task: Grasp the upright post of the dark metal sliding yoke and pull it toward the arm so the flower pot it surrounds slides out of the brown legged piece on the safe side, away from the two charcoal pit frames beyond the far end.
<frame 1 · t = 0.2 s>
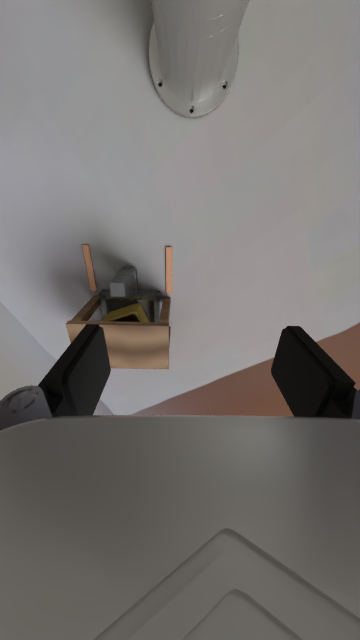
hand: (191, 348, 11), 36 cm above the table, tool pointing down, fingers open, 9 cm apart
yoke: (128, 315, 45), point 5 cm above the table, slide at 0.0 cm
brown legged piece: (133, 314, 51), on the table
flower pot: (134, 314, 51), resting in yoke
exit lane: (129, 269, 46), on the table
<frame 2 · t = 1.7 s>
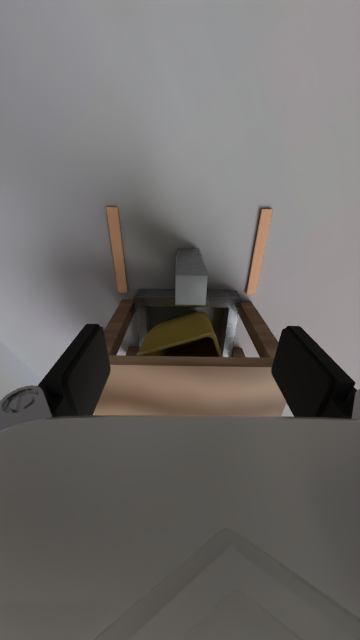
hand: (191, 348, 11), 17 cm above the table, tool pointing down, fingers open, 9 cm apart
yoke: (187, 336, 25), point 5 cm above the table, slide at 0.0 cm
brown legged piece: (185, 330, 31), on the table
flower pot: (185, 329, 32), resting in yoke
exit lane: (188, 254, 26), on the table
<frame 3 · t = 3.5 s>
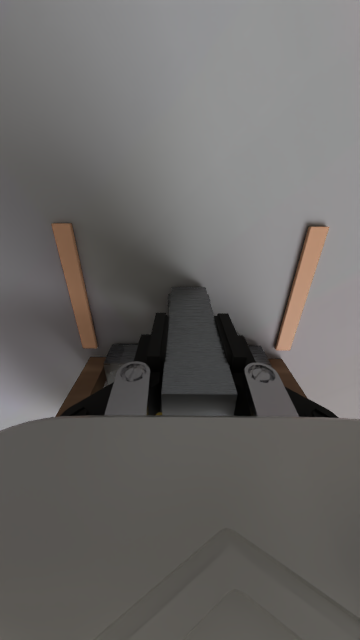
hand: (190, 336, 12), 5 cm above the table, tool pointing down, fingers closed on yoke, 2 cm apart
yoke: (187, 427, 16), point 5 cm above the table, slide at 0.0 cm, touching gripper
brown legged piece: (185, 394, 22), on the table
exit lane: (188, 295, 17), on the table
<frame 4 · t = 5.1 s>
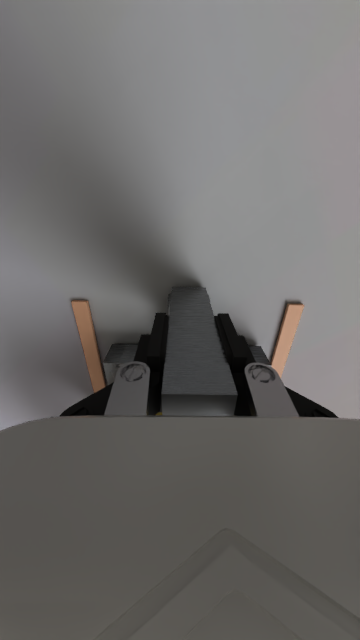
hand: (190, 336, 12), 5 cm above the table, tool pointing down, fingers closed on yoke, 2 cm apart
yoke: (186, 427, 16), point 5 cm above the table, slide at 5.6 cm, touching flower pot, gripper
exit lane: (186, 352, 19), on the table
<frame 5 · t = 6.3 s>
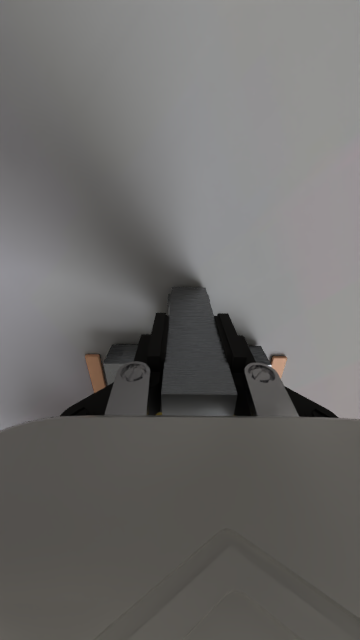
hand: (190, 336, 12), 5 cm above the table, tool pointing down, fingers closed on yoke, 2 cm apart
yoke: (187, 427, 16), point 5 cm above the table, slide at 10.9 cm, touching flower pot, gripper
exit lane: (184, 394, 22), on the table
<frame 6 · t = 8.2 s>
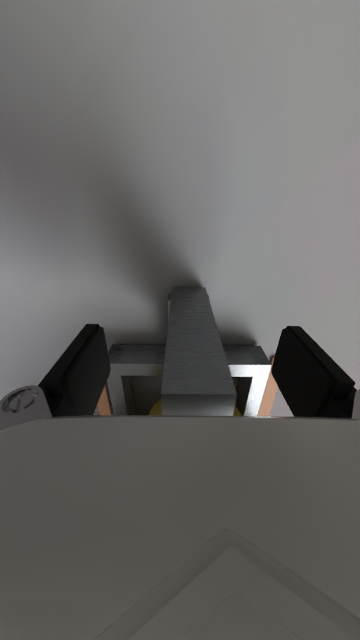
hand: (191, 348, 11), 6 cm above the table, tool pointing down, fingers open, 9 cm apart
yoke: (187, 427, 16), point 5 cm above the table, slide at 11.0 cm, touching flower pot
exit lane: (184, 395, 22), on the table
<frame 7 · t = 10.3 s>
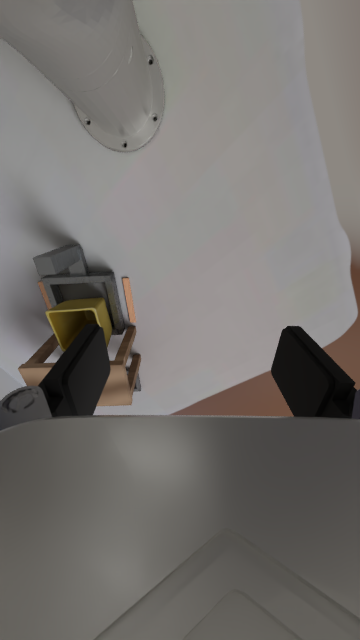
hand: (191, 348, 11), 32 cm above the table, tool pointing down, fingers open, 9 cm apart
yoke: (75, 301, 39), point 5 cm above the table, slide at 11.0 cm, touching flower pot
brown legged piece: (101, 345, 50), on the table
flower pot: (95, 308, 46), resting in yoke
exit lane: (89, 302, 45), on the table
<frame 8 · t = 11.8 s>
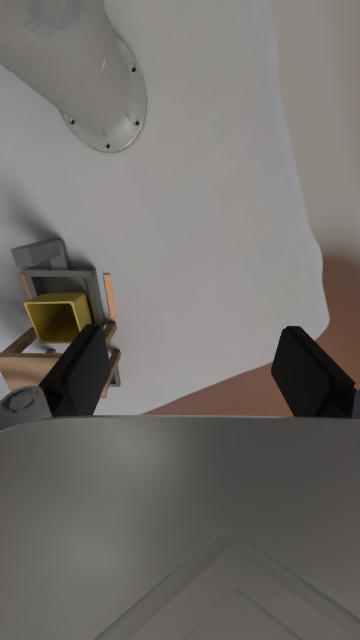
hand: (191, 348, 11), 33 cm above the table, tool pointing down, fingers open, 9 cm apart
yoke: (54, 294, 40), point 5 cm above the table, slide at 11.0 cm, touching flower pot
brown legged piece: (81, 339, 51), on the table
pit frames: (90, 373, 56), on the table
flower pot: (76, 303, 47), resting in yoke
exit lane: (71, 296, 46), on the table
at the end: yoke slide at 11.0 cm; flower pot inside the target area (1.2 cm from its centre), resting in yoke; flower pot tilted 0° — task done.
